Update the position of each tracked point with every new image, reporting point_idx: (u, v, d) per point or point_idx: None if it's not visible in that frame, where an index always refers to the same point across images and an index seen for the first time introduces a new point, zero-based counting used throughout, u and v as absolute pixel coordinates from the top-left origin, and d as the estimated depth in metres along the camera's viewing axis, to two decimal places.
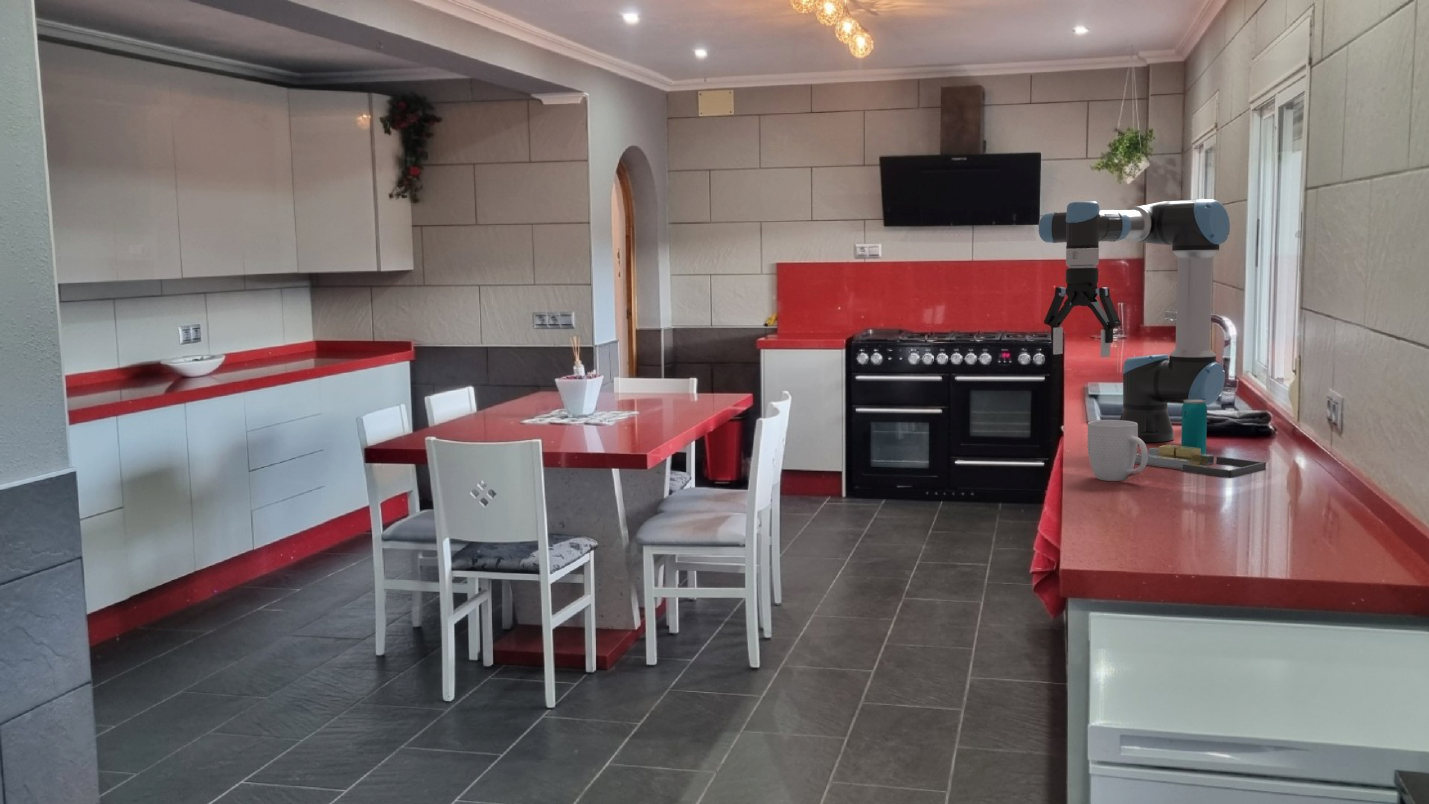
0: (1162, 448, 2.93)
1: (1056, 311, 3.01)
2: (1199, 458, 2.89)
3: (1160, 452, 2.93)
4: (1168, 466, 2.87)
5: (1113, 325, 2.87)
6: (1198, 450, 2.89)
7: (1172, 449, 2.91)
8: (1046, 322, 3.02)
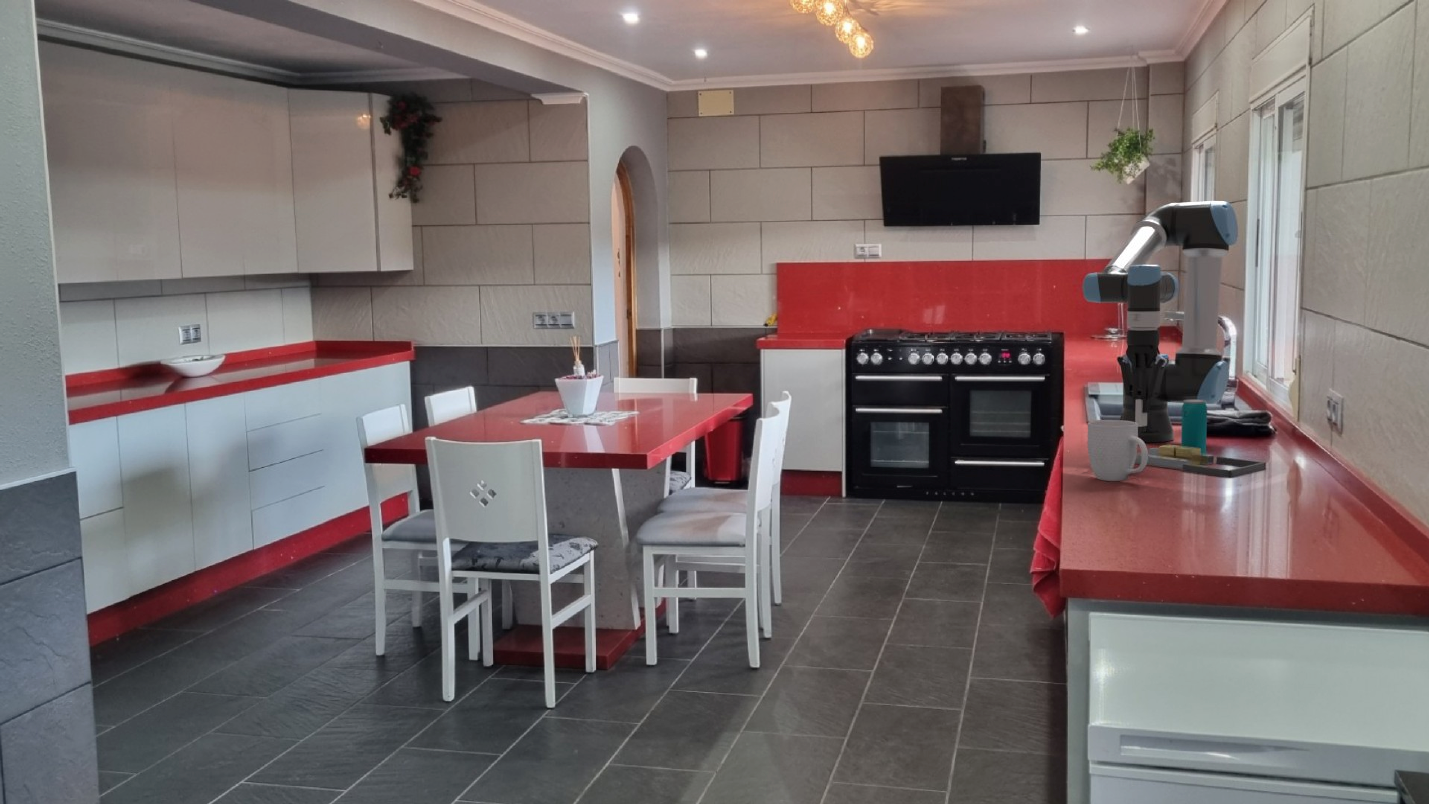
0: (1162, 448, 2.93)
1: (1131, 379, 3.00)
2: (1199, 458, 2.89)
3: (1160, 452, 2.93)
4: (1168, 466, 2.87)
5: (1150, 396, 2.95)
6: (1198, 450, 2.89)
7: (1172, 449, 2.91)
8: (1128, 393, 2.99)
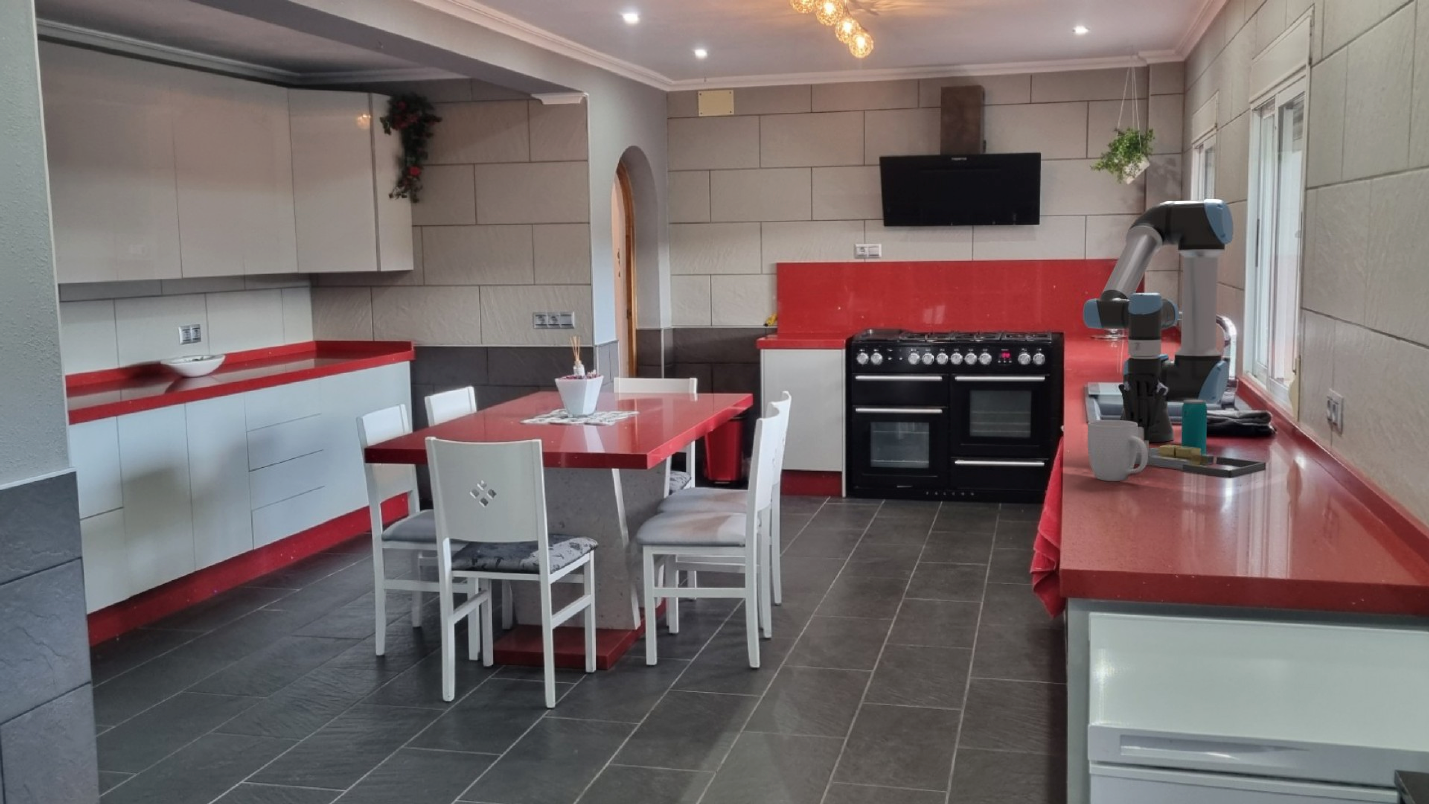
0: (1162, 448, 2.93)
1: (1132, 407, 3.01)
2: (1199, 458, 2.89)
3: (1160, 452, 2.93)
4: (1168, 466, 2.87)
5: (1151, 424, 2.95)
6: (1198, 450, 2.89)
7: (1172, 449, 2.91)
8: (1129, 420, 3.00)
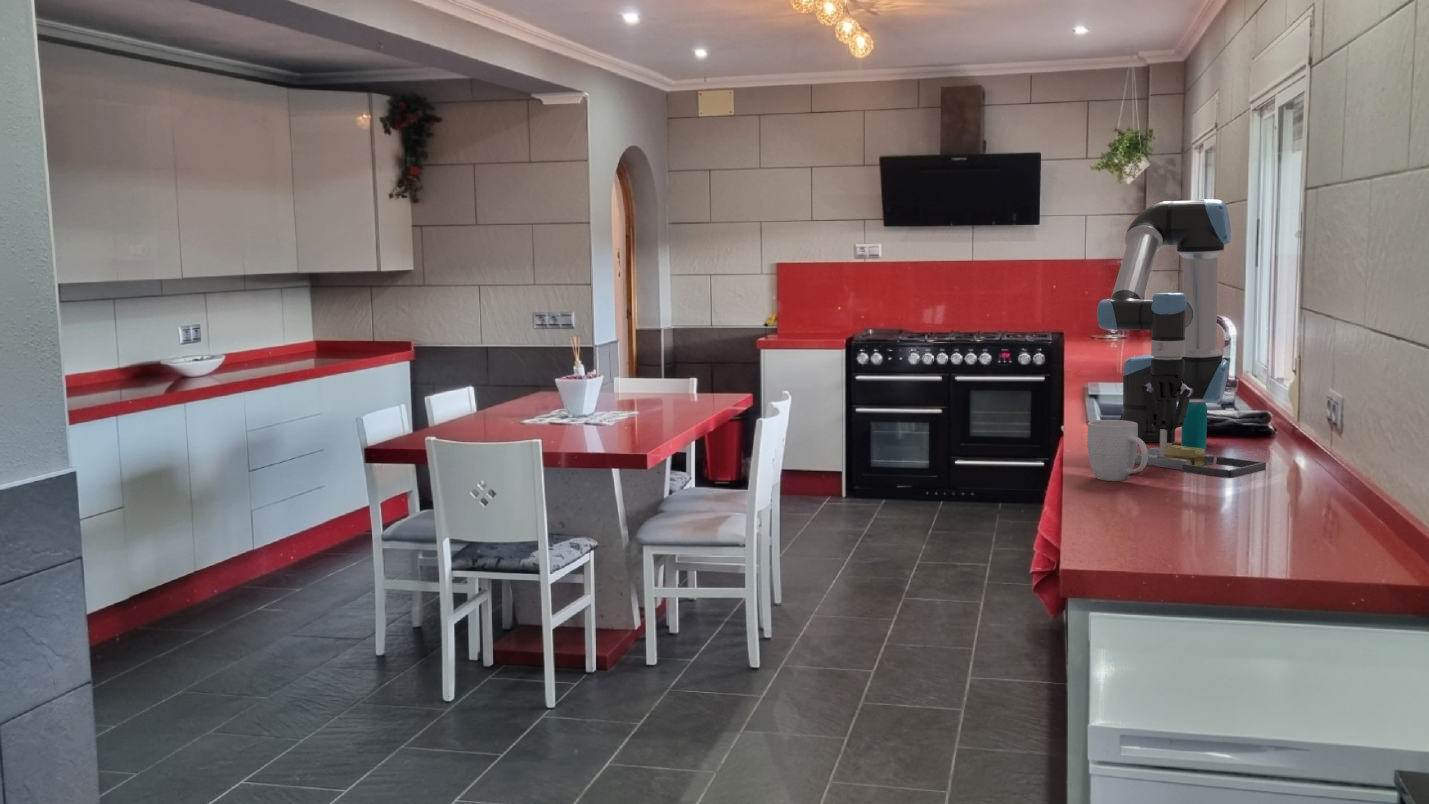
0: (1167, 448, 2.92)
1: (1155, 409, 2.96)
2: (1202, 458, 2.88)
3: (1165, 452, 2.92)
4: (1168, 466, 2.87)
5: (1175, 426, 2.90)
6: (1202, 450, 2.88)
7: (1177, 450, 2.89)
8: (1152, 422, 2.95)
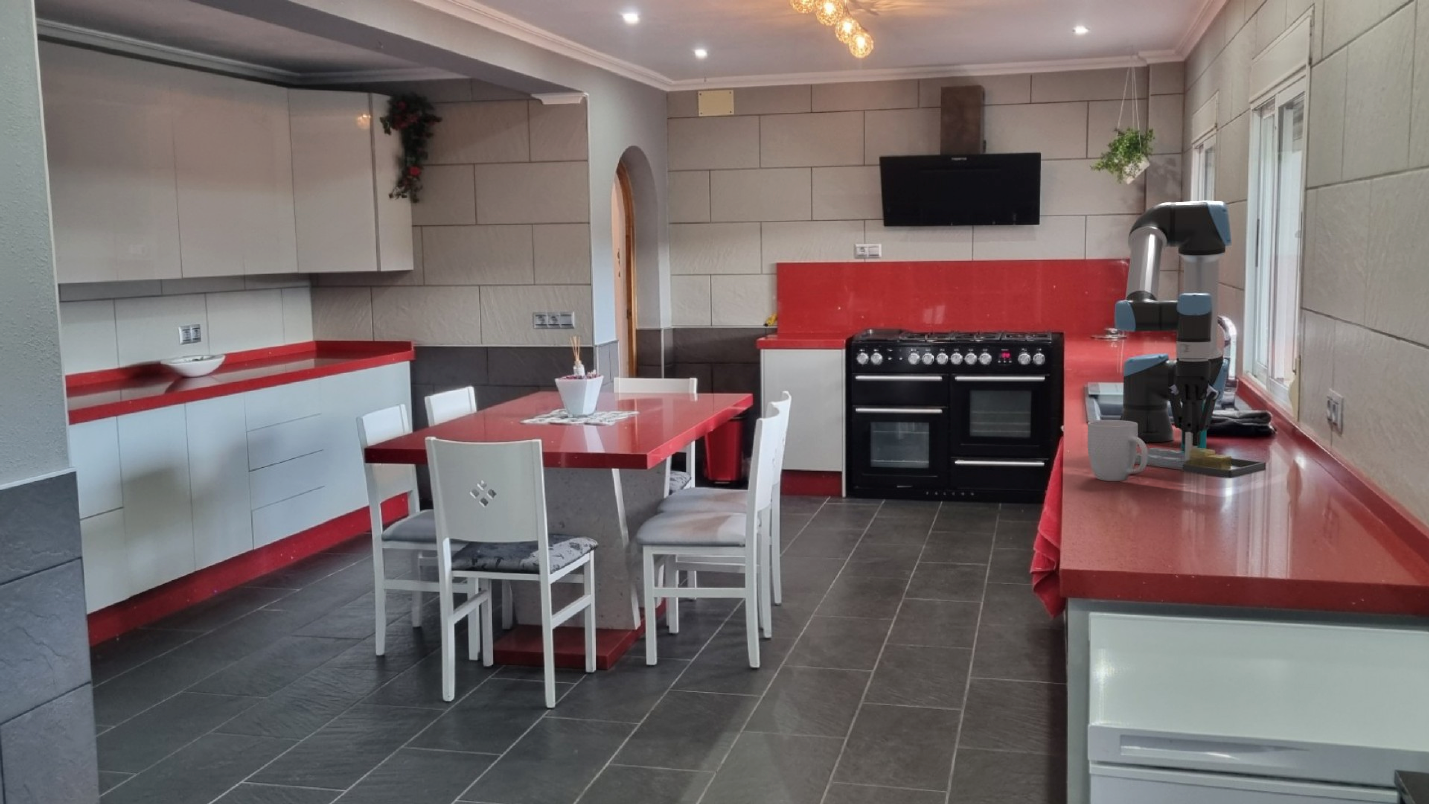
0: (1193, 452, 2.86)
1: (1180, 411, 2.91)
2: (1229, 466, 2.83)
3: (1191, 456, 2.87)
4: (1168, 466, 2.87)
5: (1200, 429, 2.85)
6: (1228, 458, 2.83)
7: (1203, 453, 2.84)
8: (1177, 425, 2.90)
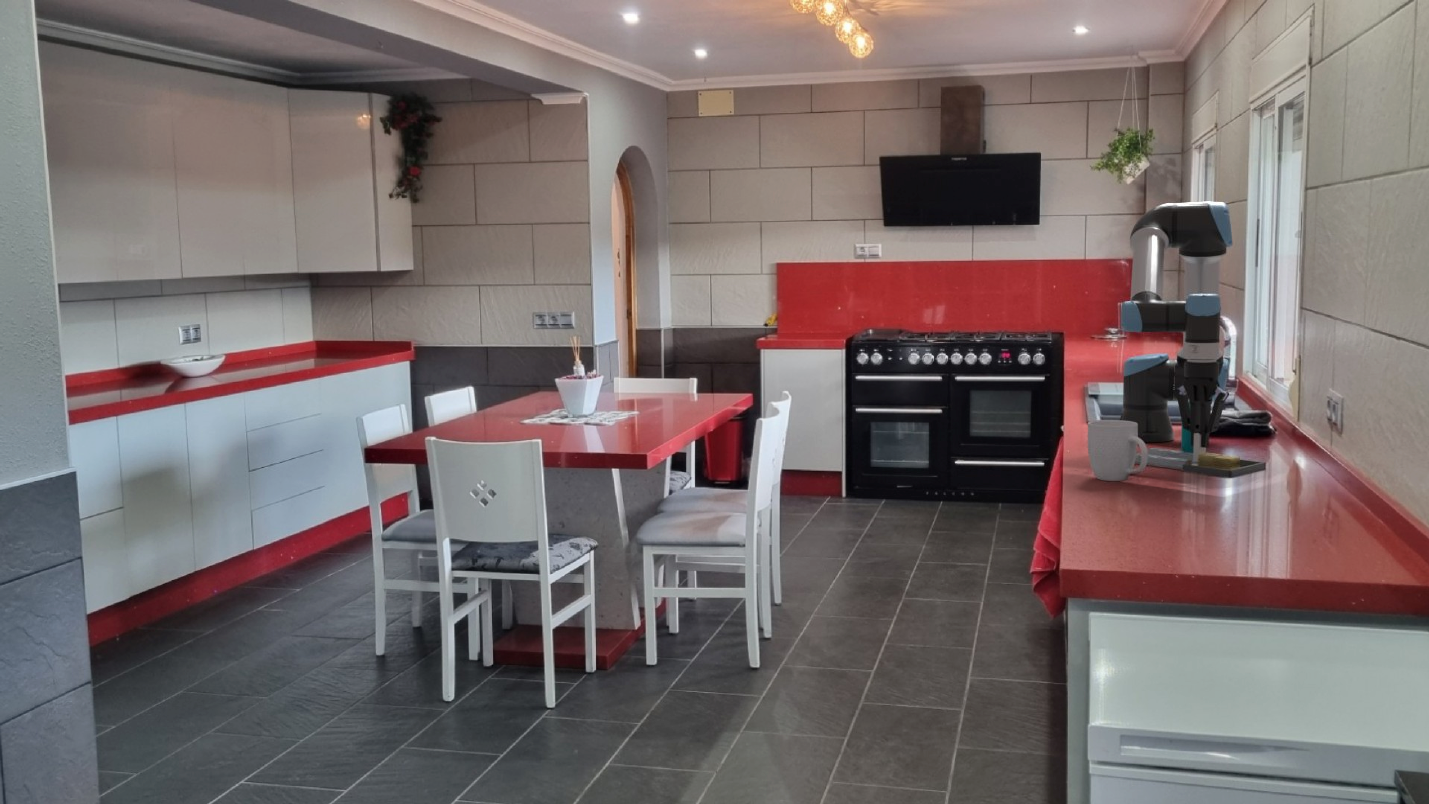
0: (1201, 456, 2.85)
1: (1188, 412, 2.89)
2: (1238, 467, 2.82)
3: (1199, 460, 2.85)
4: (1168, 466, 2.87)
5: (1209, 430, 2.83)
6: (1237, 459, 2.81)
7: (1212, 457, 2.83)
8: (1185, 426, 2.88)
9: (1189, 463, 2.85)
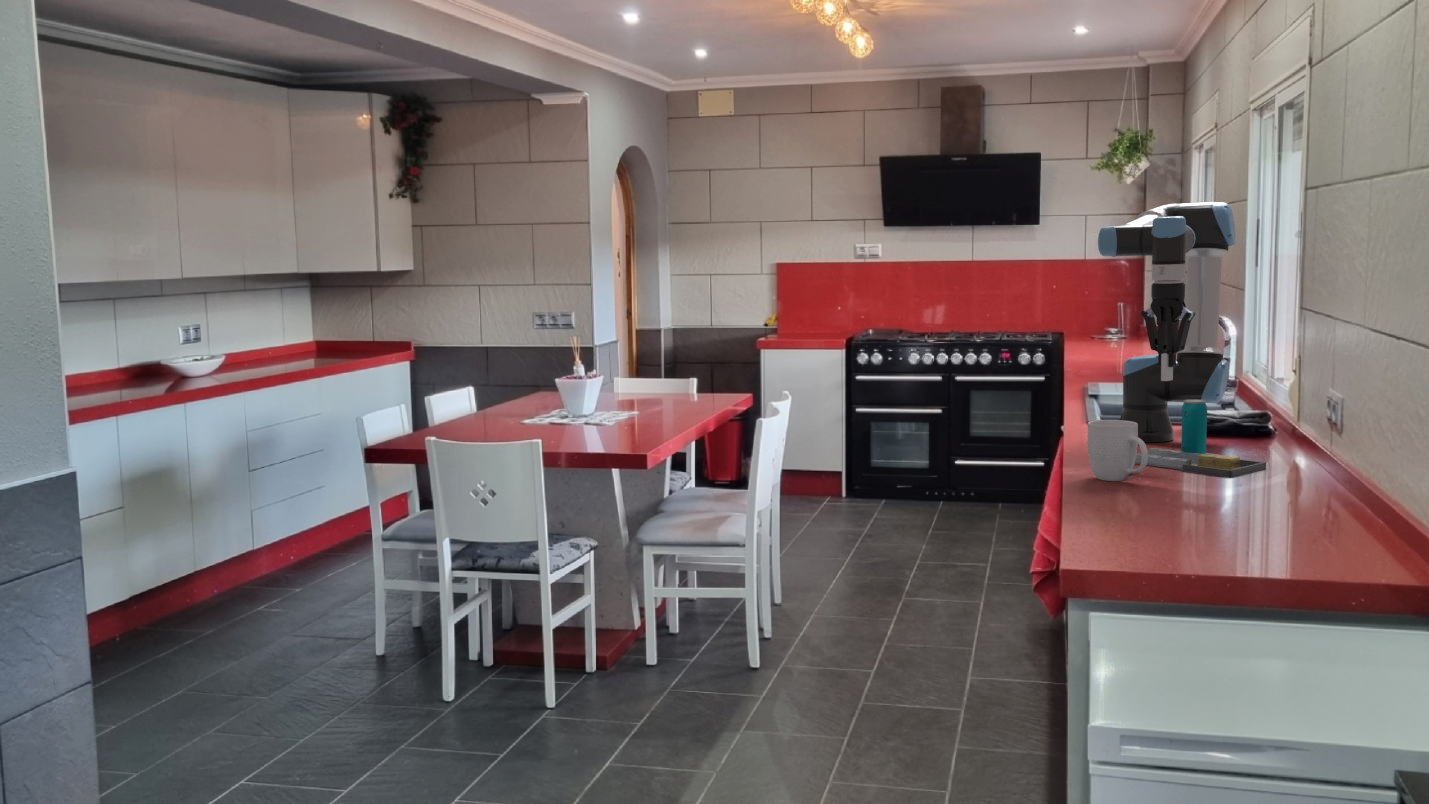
0: (1201, 457, 2.85)
1: (1156, 334, 2.96)
2: (1238, 467, 2.82)
3: (1199, 461, 2.85)
4: (1168, 466, 2.87)
5: (1176, 350, 2.91)
6: (1237, 459, 2.81)
7: (1212, 458, 2.83)
8: (1153, 347, 2.95)
9: (1189, 463, 2.85)
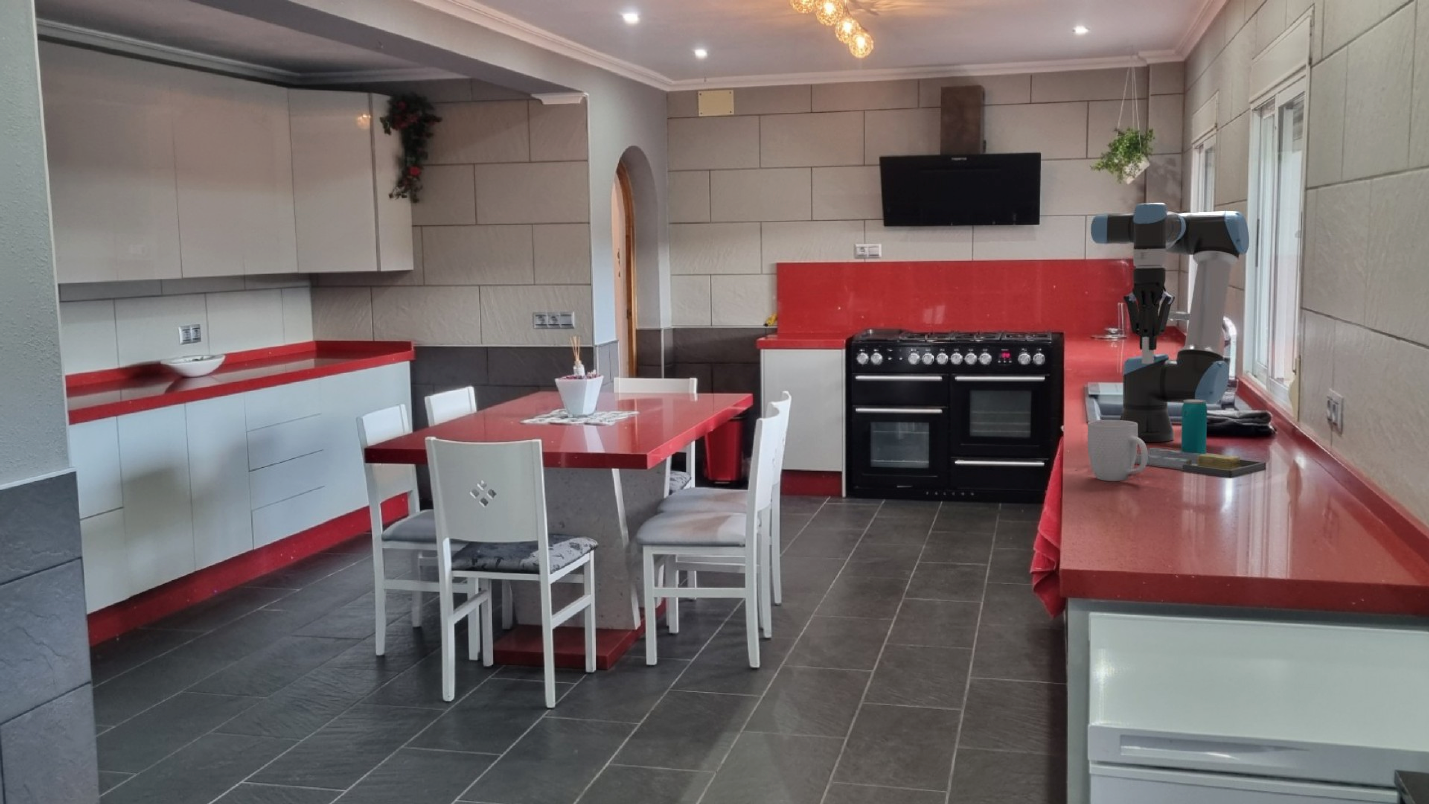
0: (1201, 457, 2.85)
1: (1137, 318, 3.04)
2: (1238, 467, 2.82)
3: (1199, 461, 2.85)
4: (1168, 466, 2.87)
5: (1156, 333, 2.99)
6: (1237, 459, 2.81)
7: (1212, 458, 2.83)
8: (1135, 331, 3.03)
9: (1189, 463, 2.85)
